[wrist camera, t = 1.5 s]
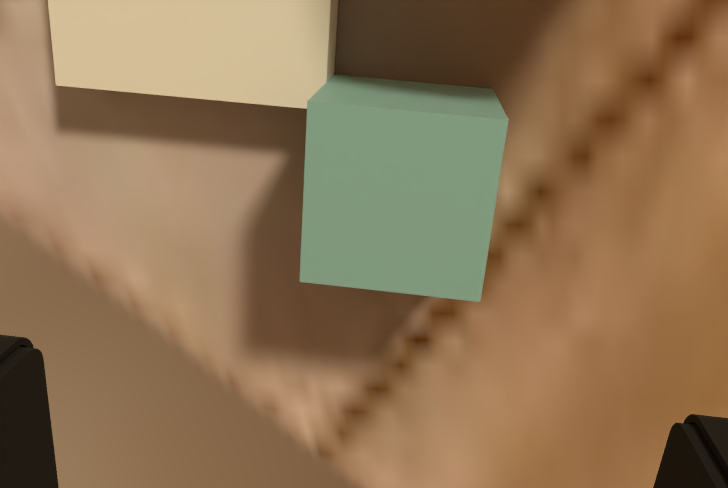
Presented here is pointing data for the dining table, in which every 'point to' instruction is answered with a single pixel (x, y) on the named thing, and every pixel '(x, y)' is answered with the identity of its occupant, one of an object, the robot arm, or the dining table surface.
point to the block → (400, 186)
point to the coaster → (197, 48)
